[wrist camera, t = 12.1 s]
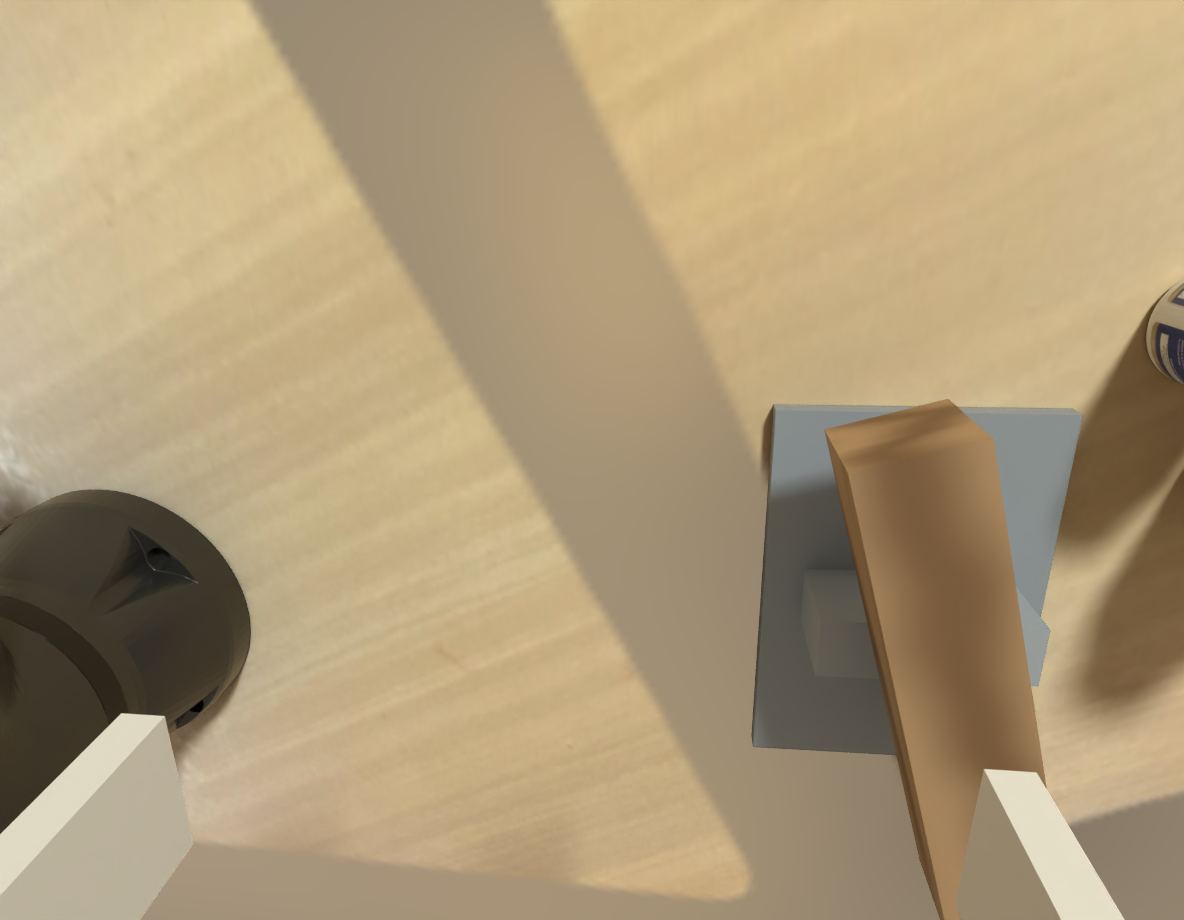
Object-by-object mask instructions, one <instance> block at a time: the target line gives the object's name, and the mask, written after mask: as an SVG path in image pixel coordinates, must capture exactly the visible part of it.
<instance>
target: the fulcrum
mask: <svg viewBox="0 0 1184 920" xmlns="http://www.w3.org/2000/svg"><path fill="white" fill-rule="evenodd" d="M909 408H913V407H910V406H837V405H774V406H773V421H772V436H771V451H770V466H769V481H768V496H767V512H766V527H765V542H764V556H763V572H762V587H761V602H760V616H759V631H758V647H757V662H756V676H755V691H754V707H753V722H752V742H753V747H763V748H782V749H799V750H816V751H817V750H818V751H836V752H853V753H869V754H887V755H896V751H895V746H894V742H893V737H892V733H891V728H890V724H889V719H888V715H887V710H886V706H885V701H884V697H883V692H882V688H881V683H880V679H879V674H878V670H877V665H876V661H875V656H874V651H873V647H872V642H871V638H870V633H869V629H868V624H867V620H866V615H865V611H864V606H863V602H862V597H861V593H860V588H859V584H858V579H857V575H856V570H855V566H854V561H853V557H852V552H851V548H850V543H849V539H848V534H847V530H846V525H845V521H844V516H843V512H842V507H841V503H840V498H839V494H838V489H837V485H836V480H835V476H834V471H833V467H832V462H831V458H830V453H829V449H828V444H827V440H826V435H825V431H824V429H828V428H832V427H836V426H841V425H845V424H849V423H853V422H857V421H861V420H865V419H869V418H873V417H877V416H881V415H885V414H889V413H893V412H897V411H901V410H905V409H909ZM958 408H959V409H960V410H961V411H963V412H964V413H965V414H966V415H967V416H968V417H969V418H971V419H972V420H973V421H974V422H975V423H976V424H977V425H979V426H980V427H981V428H982V429H983V430H984V431H985V432H987V433H988V434H989V435H990V436H991V437H992V438H993V439H994V445H995V451H996V458H997V464H998V471H999V478H1000V484H1001V491H1002V497H1003V504H1004V511H1005V517H1006V524H1007V531H1008V537H1009V544H1010V550H1011V557H1012V564H1013V570H1014V577H1015V584H1016V590H1017V597H1018V603H1019V610H1020V617H1021V623H1022V630H1023V636H1024V643H1025V650H1026V656H1027V663H1028V670H1029V676H1030V683H1031V686H1039V681H1040V676H1041V672H1042V667H1043V662H1044V658H1045V653H1046V648H1047V644H1048V639H1049V634H1050V629H1049V628H1048V626H1047V625H1046V624H1045V623H1044V621H1043V620H1042V619H1041V613H1042V608H1043V604H1044V599H1045V594H1046V589H1047V584H1048V580H1049V575H1050V570H1051V565H1052V560H1053V556H1054V551H1055V546H1056V541H1057V537H1058V532H1059V527H1060V522H1061V517H1062V513H1063V508H1064V503H1065V498H1066V494H1067V489H1068V484H1069V479H1070V474H1071V470H1072V465H1073V460H1074V455H1075V450H1076V446H1077V441H1078V436H1079V431H1080V427H1081V422H1082V417H1083V415H1082V414H1081V413H1079V412H1077V411H1076V410H1074V409H1056V408H983V407H958Z"/></svg>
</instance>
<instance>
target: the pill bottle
mask: <svg viewBox="0 0 1184 920" xmlns="http://www.w3.org/2000/svg"><path fill="white" fill-rule="evenodd" d="M1146 343H1147V350H1148V353H1149V356H1150V358H1151V360H1152V362H1153V363H1154V365H1155V366H1156V367H1157V369H1158V370H1159V371H1160V372H1161V373H1163V374H1164V375H1165V376H1167V377H1168V378H1170V379H1172V380H1174V381H1176V382H1178V383H1180V384H1182V385H1184V279H1183V280H1181V281H1179V282H1178V283H1177V284H1175V285H1174V286H1173V287H1172V288H1171V289H1170V290H1169V291H1168V292H1167V293H1166V294H1165V295H1164V296H1163V297H1162V298H1161V300H1160V301H1159V302H1158V304H1157V305H1156V307H1155V308H1154V310H1153V312H1152V314H1151V317H1150V320H1149V323H1148V327H1147V334H1146Z"/></svg>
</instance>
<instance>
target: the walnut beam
mask: <svg viewBox="0 0 1184 920" xmlns="http://www.w3.org/2000/svg"><path fill="white" fill-rule="evenodd" d="M824 431H825V435H826V440H827V444H828V449H829V453H830V458H831V462H832V467H833V471H834V476H835V480H836V485H837V489H838V494H839V498H840V503H841V507H842V512H843V516H844V521H845V525H846V530H847V534H848V539H849V543H850V548H851V552H852V557H853V561H854V566H855V570H856V575H857V579H858V584H859V588H860V593H861V597H862V602H863V606H864V611H865V615H866V620H867V624H868V629H869V633H870V638H871V642H872V647H873V651H874V656H875V661H876V665H877V670H878V674H879V679H880V683H881V688H882V692H883V697H884V701H885V706H886V710H887V715H888V719H889V724H890V728H891V733H892V737H893V742H894V746H895V751H896V755H897V760H898V764H899V769H900V773H901V778H902V782H903V787H904V791H905V796H906V800H907V805H908V809H909V814H910V818H911V823H912V827H913V831H914V836H915V841H916V845H917V850H918V854H919V859H920V862H921V865H922V868H923V871H924V874H925V877H926V880H927V882H928V885H929V888H930V891H931V894H932V897H933V900H934V903H935V906H936V908H937V911H938V914H939V917H940V920H961V918H960V916H959V913H958V910H957V908H956V905H955V901H956V896H957V891H958V887H959V882H960V877H961V873H962V868H963V863H964V859H965V854H966V849H967V845H968V840H969V836H970V831H971V826H972V822H973V817H974V812H975V808H976V803H977V798H978V794H979V789H980V784H981V780H982V775H983V770H984V769H992V770H1007V771H1023V772H1037V774H1038V776H1039V777H1040V779H1041V781H1042V782H1043V784H1044V786H1045V787H1046V782H1045V775H1044V769H1043V762H1042V756H1041V749H1040V742H1039V736H1038V729H1037V723H1036V716H1035V709H1034V703H1033V696H1032V689H1031V683H1030V676H1029V670H1028V663H1027V656H1026V650H1025V643H1024V636H1023V630H1022V623H1021V617H1020V610H1019V603H1018V597H1017V590H1016V584H1015V577H1014V570H1013V564H1012V557H1011V550H1010V544H1009V537H1008V531H1007V524H1006V517H1005V511H1004V504H1003V497H1002V491H1001V484H1000V478H999V471H998V464H997V458H996V451H995V445H994V439H993V438H992V437H991V436H990V435H989V434H988V433H987V432H985V431H984V430H983V429H982V428H981V427H980V426H979V425H977V424H976V423H975V422H974V421H973V420H972V419H971V418H969V417H968V416H967V415H966V414H965V413H964V412H963V411H961V410H960V409H959V408H958V407H957V406H956V405H955V404H954V403H952V402H951V401H950V400H949V399H946V400H942V401H938V402H933V403H929V404H925V405H921V406H917V407H913V408H909V409H905V410H901V411H897V412H893V413H889V414H885V415H881V416H877V417H873V418H869V419H865V420H861V421H857V422H853V423H849V424H845V425H841V426H836V427H832V428H828V429H824Z"/></svg>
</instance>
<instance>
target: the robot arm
mask: <svg viewBox="0 0 1184 920" xmlns="http://www.w3.org/2000/svg"><path fill="white" fill-rule="evenodd" d="M249 641H250V620H249V613H248V608H247V604H246V601H245V597H244V594H243V592H242V589H241V587H240V585H239V583H238V580H237V578H236V577H235V575H234V573H233V571H232V569H231V568H230V566H229V565H228V563H227V562H226V560H225V559H224V558H223V556H222V555H221V554H220V552H219V551H218V550H217V549H216V548H215V547H214V545H213V544H212V543H211V542H210V541H209V540H208V539H207V538H206V537H205V536H204V535H203V534H202V533H200V532H199V531H198V530H197V529H196V528H195V527H193V526H192V525H191V524H189V523H188V522H187V521H185V520H184V519H183V518H181V517H179V516H178V515H176V514H175V513H173V512H171V511H170V510H168V509H166V508H164V507H162V506H160V505H158V504H156V503H154V502H151V501H149V500H146V499H144V498H141V497H138V496H134V495H131V494H127V493H122V492H117V491H110V490H80V491H74V492H69V493H65V494H62V495H59V496H56V497H54V498H52V499H50V500H47V501H46V502H44V503H42V504H40V505H38V506H36V507H34V508H33V509H31V510H29V511H27V512H25V513H23V514H22V515H20V516H18V517H17V518H15V519H14V520H12V521H11V522H10V523H8V524H7V525H6V526H5V527H4V528H3V529H1V530H0V920H140V919H141V918H142V916H143V915H144V913H145V912H146V911H147V909H148V908H149V906H150V905H151V903H152V902H153V901H154V899H155V898H156V896H157V895H158V894H159V892H160V890H161V889H162V888H163V886H164V885H165V883H166V882H167V881H168V879H169V878H170V876H171V875H172V874H173V872H174V871H175V869H176V868H177V866H178V865H179V864H180V862H181V861H182V859H183V858H184V857H185V855H186V854H187V852H188V851H189V849H190V848H191V847H192V845H193V844H194V841H193V837H192V833H191V828H190V824H189V820H188V815H187V811H186V807H185V802H184V798H183V794H182V789H181V785H180V781H179V776H178V772H177V767H176V763H175V759H174V754H173V750H172V746H171V741H170V737H169V733H171V732H172V731H174V730H176V729H177V728H179V727H182V726H184V725H185V724H187V723H189V722H191V721H192V720H194V719H196V718H197V717H199V716H200V715H201V714H202V713H204V712H205V711H206V710H207V709H208V708H210V707H211V706H212V705H213V704H214V703H215V702H216V700H217V699H218V698H219V697H220V696H221V695H222V693H223V692H224V691H225V690H226V689H227V688H228V686H229V685H230V684H231V683H232V682H233V680H234V679H235V678H236V676H237V675H238V673H239V672H240V670H241V668H242V666H243V664H244V661H245V659H246V656H247V652H248V648H249ZM955 905H956V908H957V910H958V913H959V916H960V918H961V920H1124V918H1123V917H1122V915H1121V913H1120V912H1119V910H1118V908H1117V907H1116V905H1115V903H1114V901H1113V900H1112V898H1111V897H1110V895H1109V893H1108V892H1107V890H1106V888H1105V886H1104V885H1103V883H1102V881H1101V880H1100V878H1099V876H1098V875H1097V873H1096V871H1095V870H1094V868H1093V866H1092V865H1091V863H1090V861H1089V860H1088V858H1087V856H1086V855H1085V853H1084V851H1083V850H1082V848H1081V846H1080V845H1079V843H1078V841H1077V839H1076V838H1075V836H1074V834H1073V833H1072V831H1071V829H1070V828H1069V826H1068V824H1067V823H1066V821H1065V819H1064V818H1063V816H1062V814H1061V813H1060V811H1059V809H1058V808H1057V806H1056V804H1055V803H1054V801H1053V799H1052V798H1051V796H1050V794H1049V793H1048V791H1047V789H1046V787H1045V786H1044V784H1043V782H1042V781H1041V779H1040V777H1039V776H1038V774H1037V772H1023V771H1007V770H992V769H984V770H983V775H982V780H981V784H980V789H979V794H978V798H977V803H976V808H975V812H974V817H973V822H972V826H971V831H970V836H969V840H968V845H967V849H966V854H965V859H964V863H963V868H962V873H961V877H960V882H959V887H958V891H957V896H956V901H955Z"/></svg>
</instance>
